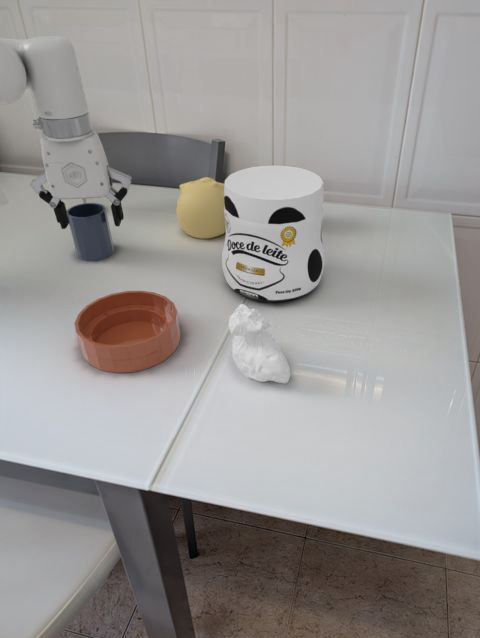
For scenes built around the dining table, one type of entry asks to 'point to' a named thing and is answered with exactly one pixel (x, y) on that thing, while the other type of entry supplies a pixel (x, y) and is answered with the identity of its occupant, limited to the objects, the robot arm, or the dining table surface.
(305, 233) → the white doce de leite
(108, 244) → the cup
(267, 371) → the bust
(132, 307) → the bowl
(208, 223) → the sculpture
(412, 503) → the dining table surface
